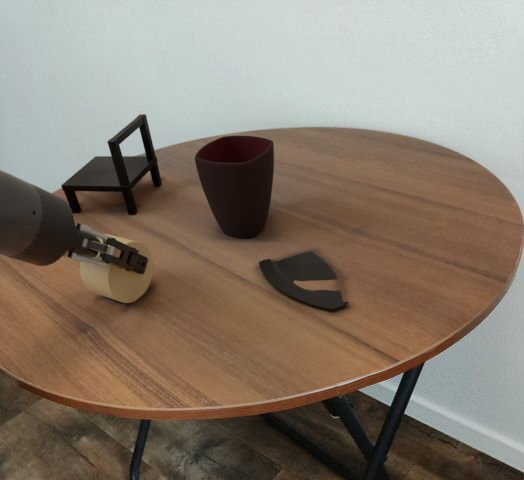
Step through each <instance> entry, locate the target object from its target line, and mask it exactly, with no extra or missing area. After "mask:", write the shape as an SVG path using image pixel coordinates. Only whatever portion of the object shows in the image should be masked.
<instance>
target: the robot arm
mask: <svg viewBox="0 0 524 480" xmlns="http://www.w3.org/2000/svg"><path fill="white" fill-rule="evenodd" d="M105 234H106V233H102V232H100V231H96V230H95V229H94V228H93V227H92V226H90V225H88V224H84V223H82V222H79V221H76V222H75V217H74V213H72V210H71V208H70V206H69V203H68V201H67V200H65V199H63V198H62V197H61V196H59V195H56V194H54V193H52V192H50V191H48V190H46V189H43V188H41V187H39V186H37V185H35V184H32V183H31V182H29V181H26V180H24V179H22V178H19V177H18V176H16V175H13V174H11V173H9V172H6V171H4V170H1V169H0V255H1V256H4V257H7V258H11V259H14V260H16V261H20V262H23V263H27V264H30V265H34V266H39V267H46V266H50V265H53V264H54V263H56V262H59V260H60V259H61V258H63V257H64V258H65V257H66V258H68V259H71V260H74V261H78V262H80V261H87V262H90V263H93V264H96V265H100V266H103V267H107V266H108V265H109V264H110V265H113V266H116V267H118V269H125V270H126V271H129V272H130V271H133V272H136V273H139V274H144V273H145V270H146V266H147V263H148V258H147V257H145V256H143V255H140V254H138V253H139V251H138V250H136V248H133V247H130V246H128V245H126V244H124V243H122V242H120V241H117V240H116V239H115V238H113V237H110V236H107V235H105ZM98 238H100V239H102V241H103V243H101V242H100V240H99V239H98ZM98 252H100V256H99V258H98V259H94V258H91V257H96V256H97V255H98ZM85 255H86V256H85ZM88 256H89V257H88Z"/></svg>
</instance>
